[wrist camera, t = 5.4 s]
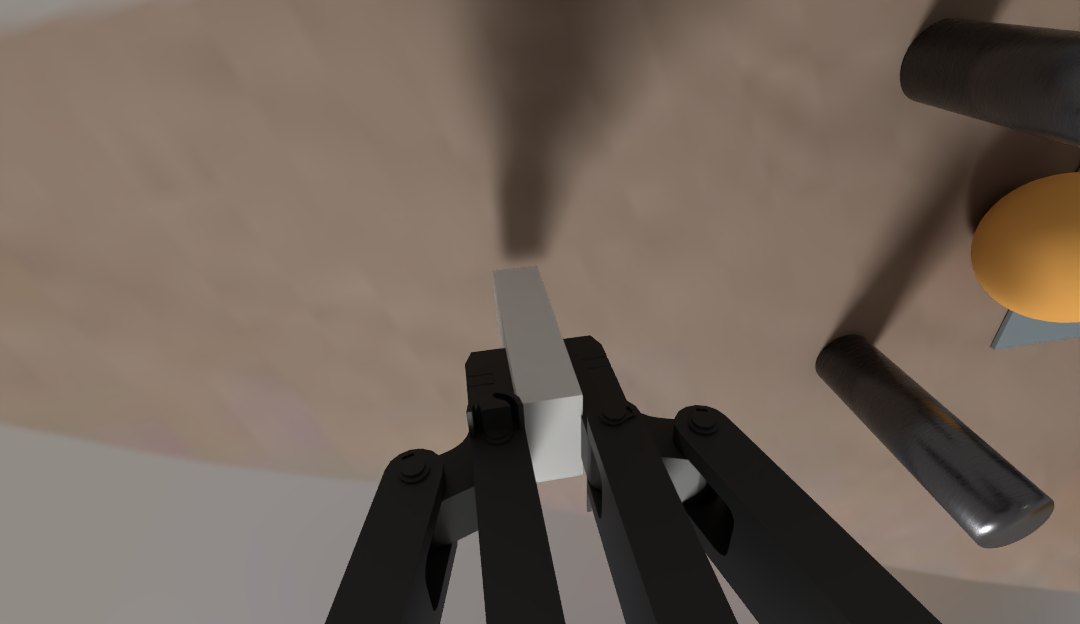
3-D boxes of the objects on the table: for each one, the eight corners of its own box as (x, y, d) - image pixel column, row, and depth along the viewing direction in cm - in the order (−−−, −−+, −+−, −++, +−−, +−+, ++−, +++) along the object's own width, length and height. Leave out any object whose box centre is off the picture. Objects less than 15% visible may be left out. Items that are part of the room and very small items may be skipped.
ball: (966, 163, 21) (1075, 145, 22) (918, 290, 24) (1016, 268, 25) (1139, 218, 16) (1264, 190, 17) (1053, 366, 19) (1164, 334, 20)
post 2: (876, 331, 25) (1068, 489, 17) (860, 376, 26) (1032, 540, 19) (822, 338, 25) (995, 503, 17) (810, 383, 26) (964, 553, 18)
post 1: (986, 16, 18) (1380, 53, 11) (957, 98, 19) (1288, 183, 12) (914, 20, 18) (1268, 63, 10) (890, 104, 19) (1186, 195, 12)
